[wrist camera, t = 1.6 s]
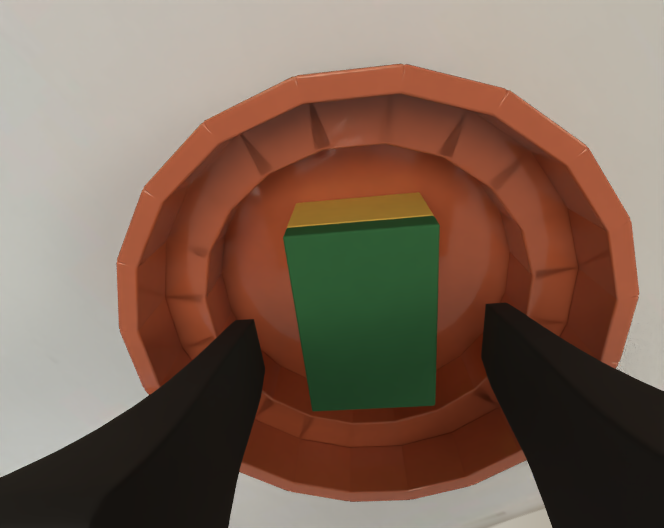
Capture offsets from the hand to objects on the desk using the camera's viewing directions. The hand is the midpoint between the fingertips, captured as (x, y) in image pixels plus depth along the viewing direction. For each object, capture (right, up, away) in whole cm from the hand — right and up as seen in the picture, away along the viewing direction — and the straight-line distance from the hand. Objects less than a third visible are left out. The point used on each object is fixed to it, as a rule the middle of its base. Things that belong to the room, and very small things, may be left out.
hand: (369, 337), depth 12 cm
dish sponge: (0, +2, +3) cm, 4 cm away
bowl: (0, +2, +4) cm, 4 cm away
